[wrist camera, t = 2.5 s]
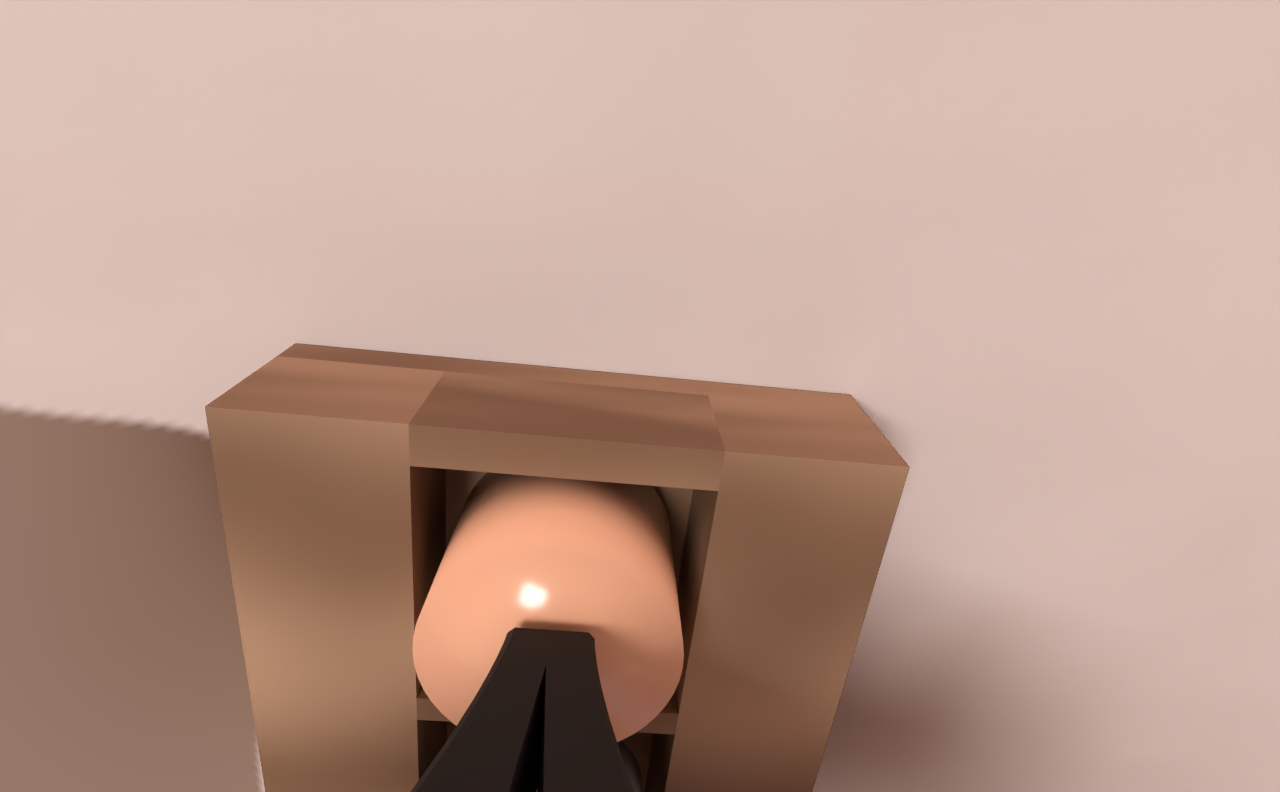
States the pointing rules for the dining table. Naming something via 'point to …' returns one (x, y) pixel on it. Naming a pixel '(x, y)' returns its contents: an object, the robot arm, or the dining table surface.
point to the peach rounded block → (556, 590)
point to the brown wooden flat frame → (558, 448)
